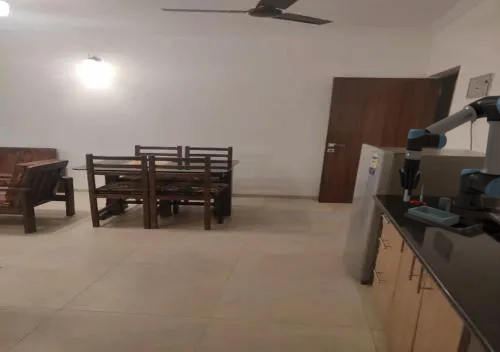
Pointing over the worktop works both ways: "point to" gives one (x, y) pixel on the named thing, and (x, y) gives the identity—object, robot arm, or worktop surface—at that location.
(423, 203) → the tow hook
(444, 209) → the dark grey block
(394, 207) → the worktop surface
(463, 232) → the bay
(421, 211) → the crate
